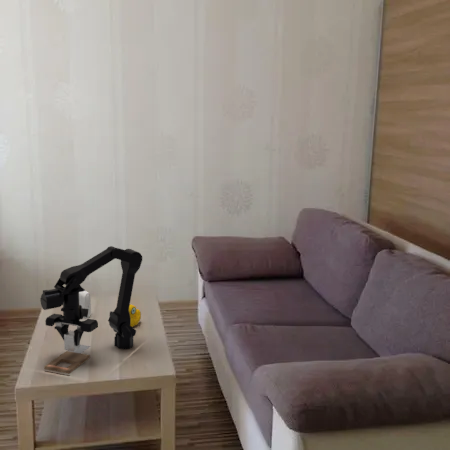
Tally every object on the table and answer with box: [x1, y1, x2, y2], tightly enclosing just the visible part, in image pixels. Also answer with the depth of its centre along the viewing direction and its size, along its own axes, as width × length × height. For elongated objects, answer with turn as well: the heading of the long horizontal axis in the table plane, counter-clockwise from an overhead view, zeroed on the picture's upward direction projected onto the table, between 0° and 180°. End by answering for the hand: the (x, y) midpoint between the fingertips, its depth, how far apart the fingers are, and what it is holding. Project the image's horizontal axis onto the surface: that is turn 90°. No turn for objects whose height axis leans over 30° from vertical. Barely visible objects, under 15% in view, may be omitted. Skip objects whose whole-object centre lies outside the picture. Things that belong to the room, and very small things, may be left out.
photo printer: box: [79, 290, 92, 319], centre depth 257 cm, size 10×4×12 cm, turn 60°
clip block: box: [63, 330, 81, 351], centre depth 210 cm, size 4×4×6 cm
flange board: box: [43, 350, 91, 377], centre depth 208 cm, size 10×14×2 cm
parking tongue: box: [70, 344, 92, 354], centre depth 221 cm, size 6×8×1 cm
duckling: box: [129, 303, 142, 328], centre depth 246 cm, size 11×5×10 cm, turn 151°
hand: (72, 344), depth 210 cm, fingers closed on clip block, 4 cm apart
